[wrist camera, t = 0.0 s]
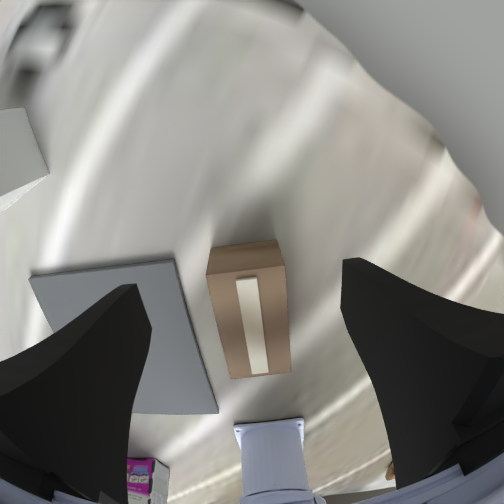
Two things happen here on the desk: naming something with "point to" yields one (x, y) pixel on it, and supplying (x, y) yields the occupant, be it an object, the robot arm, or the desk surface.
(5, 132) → the white cube
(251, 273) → the brown box with strip
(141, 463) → the candy bar box
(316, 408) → the desk surface
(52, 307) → the rubber mat
